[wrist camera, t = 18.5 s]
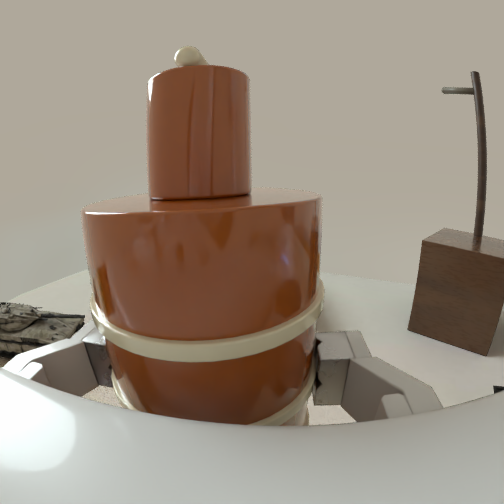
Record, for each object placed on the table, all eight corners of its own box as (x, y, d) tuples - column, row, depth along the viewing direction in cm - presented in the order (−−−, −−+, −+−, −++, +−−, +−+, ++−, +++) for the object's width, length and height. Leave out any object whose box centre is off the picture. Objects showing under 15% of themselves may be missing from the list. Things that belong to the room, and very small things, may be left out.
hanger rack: (486, 356, 26) (506, 44, 16) (407, 329, 34) (416, 45, 25) (496, 318, 33) (510, 77, 23) (433, 300, 42) (441, 75, 32)
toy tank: (82, 367, 27) (56, 282, 24) (-17, 353, 25) (-41, 284, 23) (104, 333, 35) (87, 259, 32) (10, 328, 33) (-7, 266, 31)
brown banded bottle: (298, 535, 7) (348, -6, 3) (143, 516, 8) (23, 56, 4) (296, 431, 13) (310, 87, 9) (178, 423, 14) (139, 100, 10)
